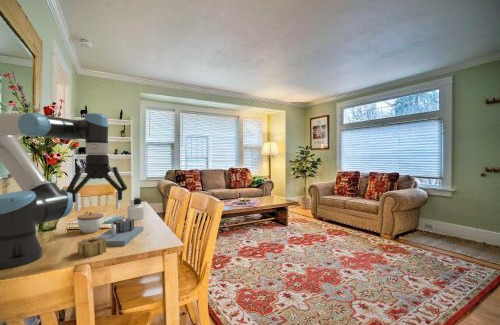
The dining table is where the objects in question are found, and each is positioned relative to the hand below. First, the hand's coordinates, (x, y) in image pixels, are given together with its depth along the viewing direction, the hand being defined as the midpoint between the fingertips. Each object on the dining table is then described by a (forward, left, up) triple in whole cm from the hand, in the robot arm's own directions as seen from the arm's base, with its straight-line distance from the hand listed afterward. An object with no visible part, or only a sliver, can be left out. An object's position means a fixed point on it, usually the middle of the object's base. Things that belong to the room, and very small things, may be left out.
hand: (98, 209), depth 99 cm
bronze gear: (-1, -2, -16) cm, 16 cm away
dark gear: (+1, +21, -14) cm, 25 cm away
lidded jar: (-17, +27, -16) cm, 36 cm away
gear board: (+1, +16, -16) cm, 22 cm away
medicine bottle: (-5, +52, -16) cm, 54 cm away
